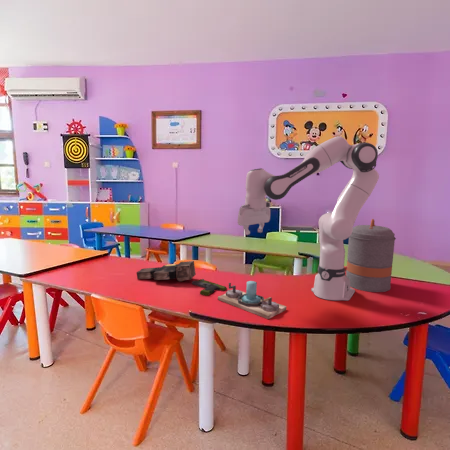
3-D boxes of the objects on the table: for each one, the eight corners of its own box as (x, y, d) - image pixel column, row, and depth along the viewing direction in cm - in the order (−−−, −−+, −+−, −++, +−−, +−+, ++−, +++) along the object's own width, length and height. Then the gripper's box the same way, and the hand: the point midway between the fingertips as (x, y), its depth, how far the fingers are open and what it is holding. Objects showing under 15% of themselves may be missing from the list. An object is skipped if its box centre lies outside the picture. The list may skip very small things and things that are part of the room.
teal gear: (249, 296, 147) (250, 278, 146) (264, 301, 142) (264, 282, 141) (238, 301, 142) (238, 282, 140) (252, 306, 136) (253, 287, 135)
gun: (180, 288, 163) (202, 282, 174) (207, 297, 150) (228, 290, 161) (180, 283, 162) (202, 277, 173) (207, 292, 150) (228, 285, 161)
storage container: (349, 275, 186) (353, 215, 181) (392, 282, 175) (398, 218, 169) (340, 286, 167) (345, 219, 162) (389, 295, 156) (396, 223, 150)
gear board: (236, 292, 156) (237, 276, 155) (286, 309, 137) (287, 291, 136) (217, 299, 147) (218, 282, 146) (268, 319, 128) (268, 299, 126)
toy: (135, 287, 171) (189, 284, 165) (132, 271, 170) (187, 267, 164) (147, 278, 186) (197, 274, 180) (145, 263, 185) (195, 259, 179)
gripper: (245, 205, 140) (244, 237, 143) (273, 203, 155) (271, 231, 157) (234, 204, 145) (234, 235, 147) (262, 202, 159) (261, 230, 162)
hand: (253, 233), depth 152 cm, fingers open, 8 cm apart
